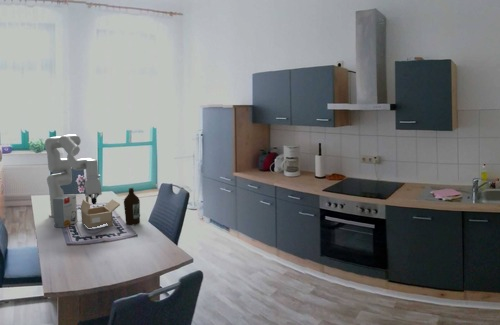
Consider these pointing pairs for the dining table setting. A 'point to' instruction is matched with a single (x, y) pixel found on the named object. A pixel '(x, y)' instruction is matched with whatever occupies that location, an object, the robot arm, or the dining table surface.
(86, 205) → the flap
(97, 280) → the dining table surface
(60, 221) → the hard drive box
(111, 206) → the flap
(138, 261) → the dining table surface
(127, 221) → the olive oil
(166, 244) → the dining table surface
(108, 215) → the carton
